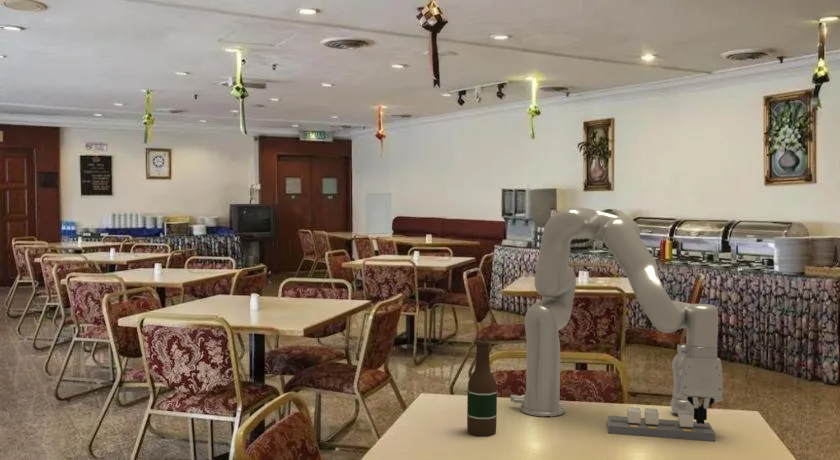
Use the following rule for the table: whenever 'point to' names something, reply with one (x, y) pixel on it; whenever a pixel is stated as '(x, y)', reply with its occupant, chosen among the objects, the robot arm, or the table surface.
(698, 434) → the switch deck
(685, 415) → the slider
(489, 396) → the beer bottle
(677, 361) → the plastic bottle
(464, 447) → the table surface
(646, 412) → the slider
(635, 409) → the slider
